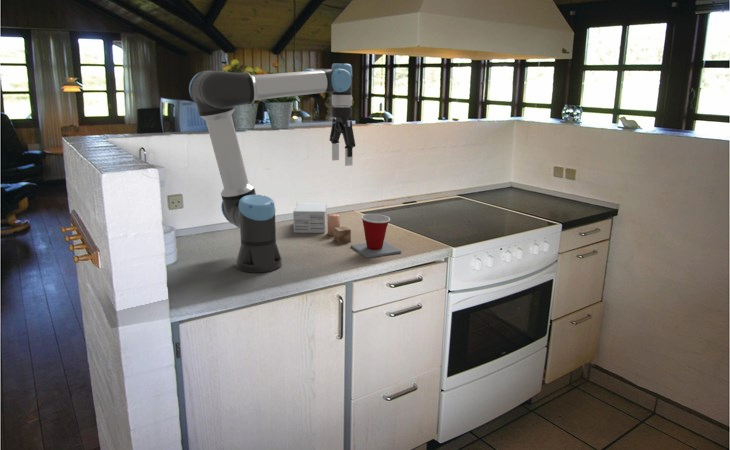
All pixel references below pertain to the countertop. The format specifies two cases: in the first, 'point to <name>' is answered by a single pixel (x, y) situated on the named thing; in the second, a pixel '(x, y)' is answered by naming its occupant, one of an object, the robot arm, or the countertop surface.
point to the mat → (369, 253)
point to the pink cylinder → (333, 223)
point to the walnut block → (342, 234)
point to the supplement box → (310, 217)
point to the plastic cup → (375, 230)
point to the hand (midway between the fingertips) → (341, 162)
